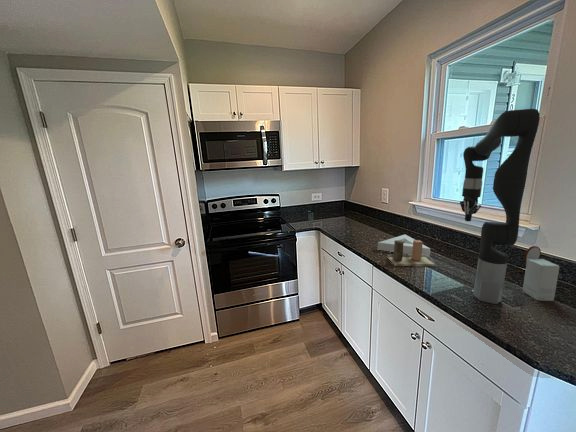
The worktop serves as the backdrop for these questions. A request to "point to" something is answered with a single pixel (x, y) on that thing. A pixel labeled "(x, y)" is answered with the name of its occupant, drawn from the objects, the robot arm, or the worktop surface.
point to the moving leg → (417, 250)
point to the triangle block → (407, 245)
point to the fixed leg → (398, 250)
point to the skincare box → (540, 279)
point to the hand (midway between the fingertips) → (467, 221)
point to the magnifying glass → (532, 253)
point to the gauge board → (411, 261)
